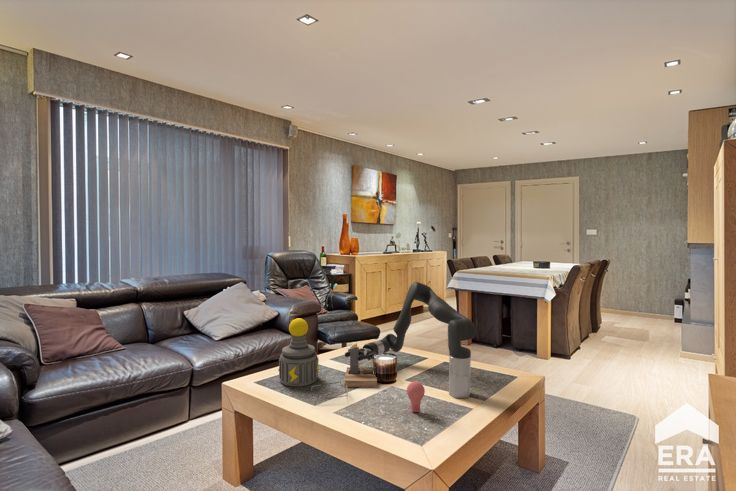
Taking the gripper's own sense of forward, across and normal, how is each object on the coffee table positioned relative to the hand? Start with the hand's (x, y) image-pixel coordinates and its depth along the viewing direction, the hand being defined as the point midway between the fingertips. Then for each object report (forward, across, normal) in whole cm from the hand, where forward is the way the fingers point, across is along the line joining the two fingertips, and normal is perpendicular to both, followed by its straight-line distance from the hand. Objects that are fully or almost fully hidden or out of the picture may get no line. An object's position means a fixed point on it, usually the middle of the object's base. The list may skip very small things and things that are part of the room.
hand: (351, 356), depth 207 cm
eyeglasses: (+20, +6, +12) cm, 24 cm away
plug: (-2, 0, +11) cm, 11 cm away
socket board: (-2, +4, +11) cm, 12 cm away
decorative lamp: (+18, -18, +11) cm, 28 cm away
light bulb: (+9, +43, +11) cm, 46 cm away
